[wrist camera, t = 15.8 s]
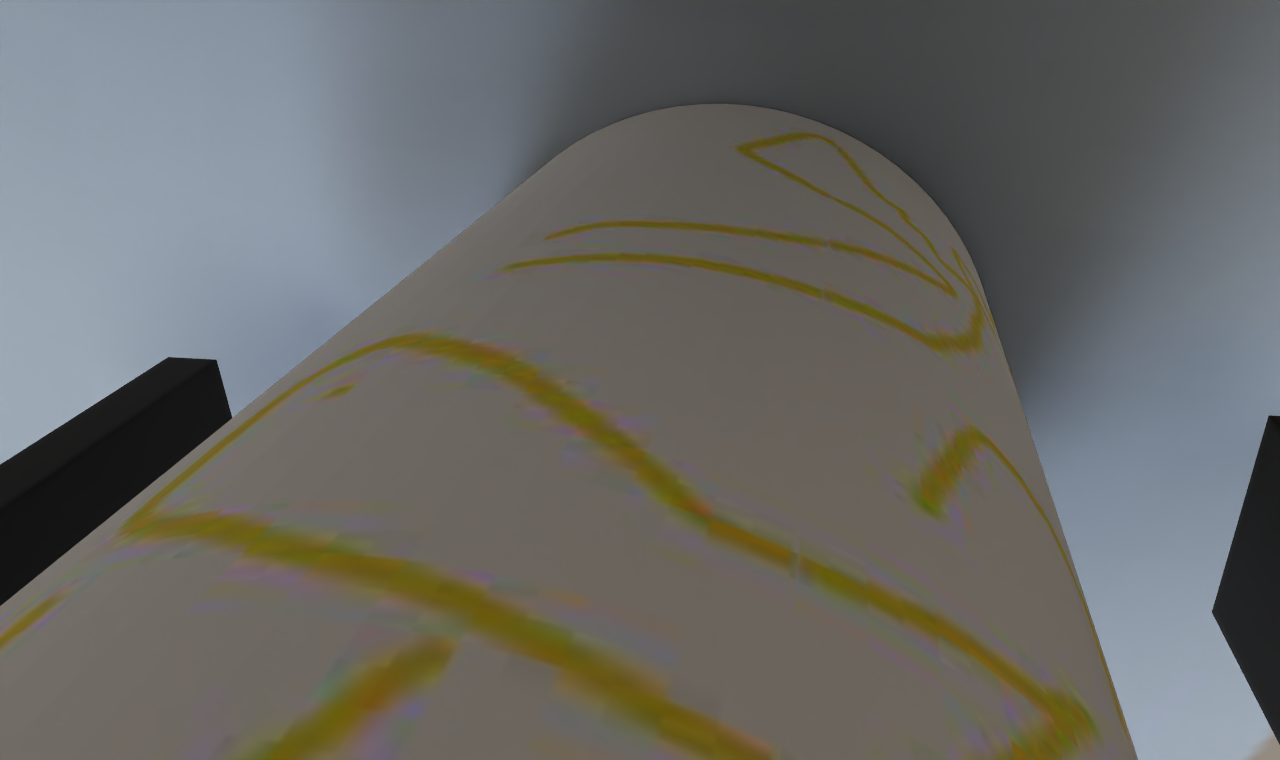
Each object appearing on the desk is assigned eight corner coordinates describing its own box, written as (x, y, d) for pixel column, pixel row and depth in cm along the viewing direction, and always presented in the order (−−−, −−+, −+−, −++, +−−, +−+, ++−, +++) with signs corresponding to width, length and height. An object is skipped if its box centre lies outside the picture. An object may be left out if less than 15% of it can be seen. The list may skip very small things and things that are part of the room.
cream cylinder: (1122, 346, 13) (2247, 2206, 2) (757, 656, 17) (590, 1893, 6) (657, -26, 12) (-696, 403, 2) (386, 392, 16) (-529, 1323, 5)
